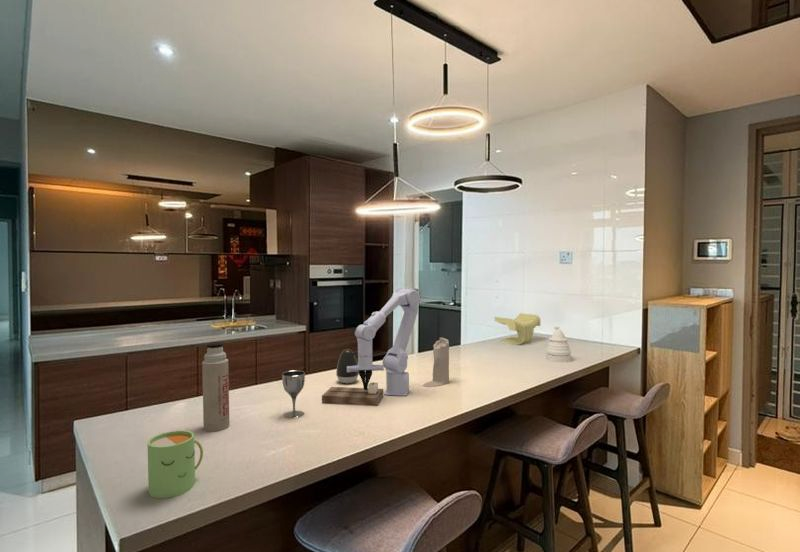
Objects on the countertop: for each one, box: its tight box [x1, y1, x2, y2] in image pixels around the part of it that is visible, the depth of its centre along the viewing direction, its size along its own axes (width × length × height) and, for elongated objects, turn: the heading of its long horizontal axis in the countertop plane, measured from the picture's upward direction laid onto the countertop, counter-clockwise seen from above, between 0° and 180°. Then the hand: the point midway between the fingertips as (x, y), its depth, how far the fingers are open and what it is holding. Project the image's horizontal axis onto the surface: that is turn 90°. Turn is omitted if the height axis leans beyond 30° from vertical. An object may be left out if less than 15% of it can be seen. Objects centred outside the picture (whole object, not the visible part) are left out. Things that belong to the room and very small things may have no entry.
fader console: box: [321, 386, 384, 407], centre depth 172 cm, size 22×12×3 cm, turn 81°
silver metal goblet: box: [281, 369, 306, 419], centre depth 155 cm, size 8×8×15 cm
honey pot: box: [545, 326, 572, 363], centre depth 239 cm, size 13×13×18 cm
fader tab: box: [368, 382, 379, 394], centre depth 170 cm, size 3×4×3 cm
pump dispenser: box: [335, 348, 360, 385], centre depth 197 cm, size 10×10×15 cm
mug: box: [147, 430, 204, 499], centre depth 106 cm, size 13×10×12 cm
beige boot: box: [422, 337, 450, 388], centre depth 193 cm, size 7×14×20 cm, turn 131°
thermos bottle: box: [201, 342, 231, 433], centre depth 144 cm, size 8×8×28 cm
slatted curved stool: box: [494, 312, 541, 345], centre depth 291 cm, size 30×16×18 cm, turn 131°
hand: (365, 389), depth 171 cm, fingers closed
